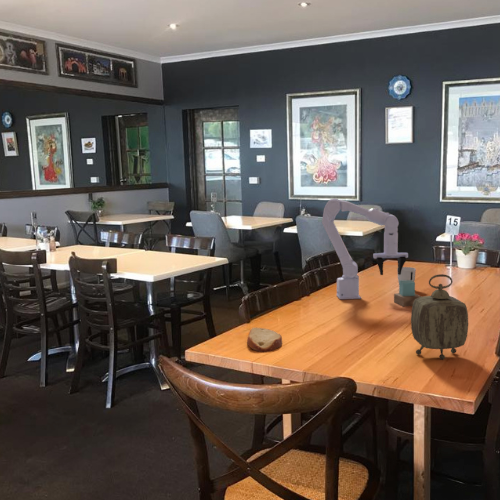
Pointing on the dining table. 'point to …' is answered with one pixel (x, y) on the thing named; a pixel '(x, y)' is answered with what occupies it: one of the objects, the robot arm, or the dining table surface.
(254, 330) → the slice of bread
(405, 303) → the brown block
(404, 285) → the teal block
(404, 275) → the cup
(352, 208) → the robot arm
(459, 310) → the tabletop clock
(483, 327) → the dining table surface
